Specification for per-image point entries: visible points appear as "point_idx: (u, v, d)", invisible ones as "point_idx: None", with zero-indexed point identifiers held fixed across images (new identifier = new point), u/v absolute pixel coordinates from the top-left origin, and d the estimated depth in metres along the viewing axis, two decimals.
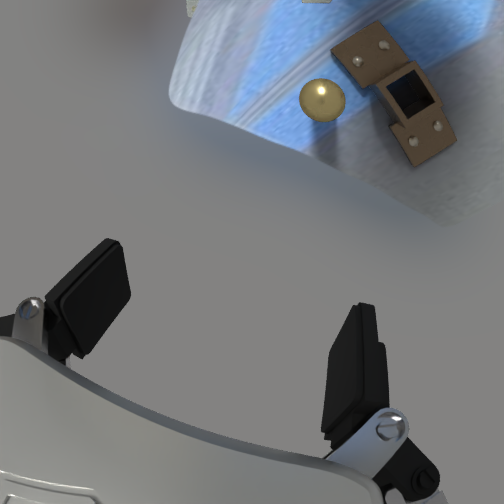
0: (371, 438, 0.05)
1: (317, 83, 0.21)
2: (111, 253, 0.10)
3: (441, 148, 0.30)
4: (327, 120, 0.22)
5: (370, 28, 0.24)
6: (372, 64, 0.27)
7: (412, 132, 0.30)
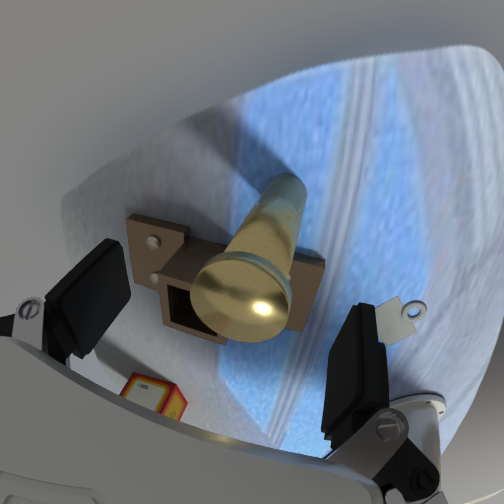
0: (371, 438, 0.05)
1: (270, 328, 0.11)
2: (111, 253, 0.10)
3: (132, 261, 0.28)
4: (196, 281, 0.11)
5: (301, 319, 0.26)
6: None
7: (163, 249, 0.26)
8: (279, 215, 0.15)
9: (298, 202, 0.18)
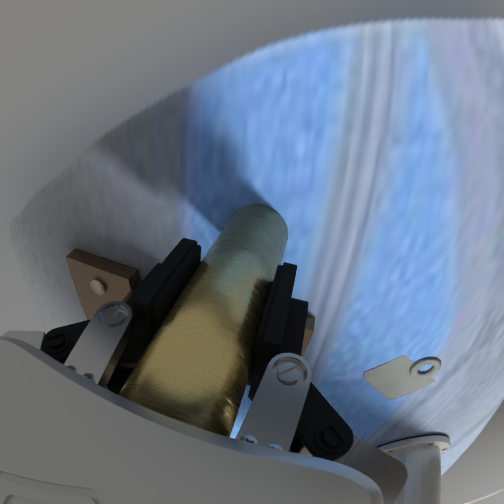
0: (276, 388, 0.06)
1: None
2: (193, 253, 0.10)
3: (82, 303, 0.22)
4: None
5: None
6: None
7: (110, 295, 0.19)
8: (223, 309, 0.08)
9: (268, 262, 0.11)
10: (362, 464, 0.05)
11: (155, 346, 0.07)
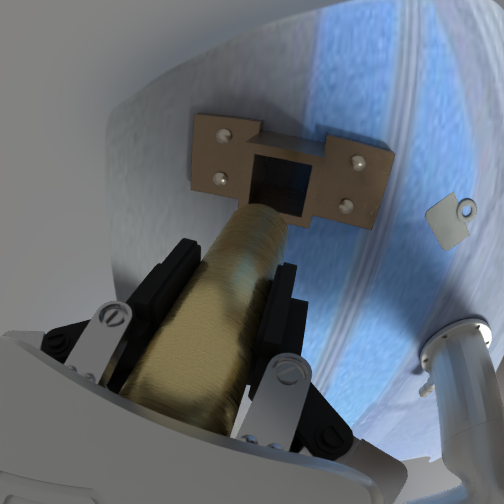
0: (276, 388, 0.06)
1: None
2: (193, 253, 0.10)
3: (193, 163, 0.27)
4: None
5: (372, 214, 0.25)
6: (341, 172, 0.24)
7: (234, 142, 0.25)
8: (223, 309, 0.08)
9: (268, 261, 0.11)
10: (363, 465, 0.05)
11: (155, 345, 0.07)
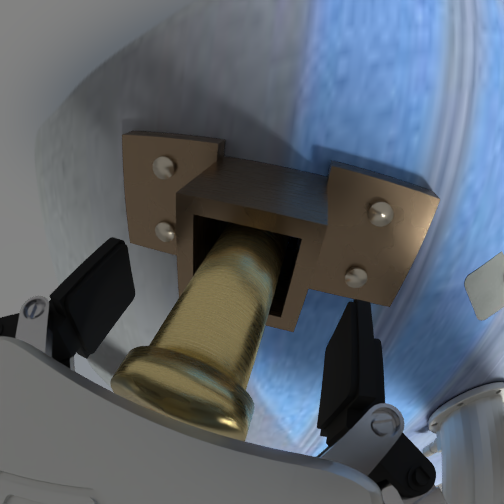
0: (366, 434, 0.05)
1: None
2: (116, 252, 0.10)
3: (128, 207, 0.18)
4: (114, 383, 0.06)
5: (394, 286, 0.16)
6: (351, 227, 0.15)
7: (180, 177, 0.16)
8: (247, 261, 0.10)
9: None
10: None
11: (192, 288, 0.09)
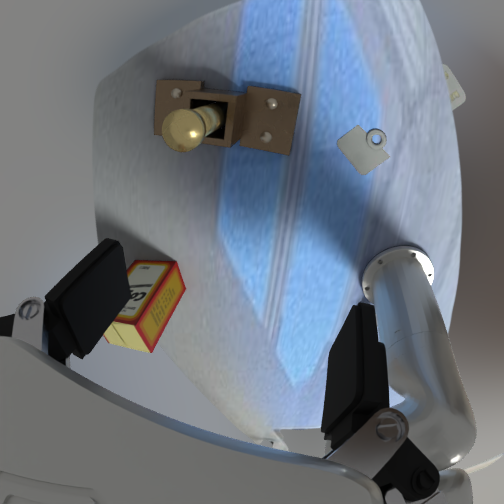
0: (371, 438, 0.05)
1: (195, 139, 0.23)
2: (111, 253, 0.10)
3: (156, 115, 0.34)
4: (164, 121, 0.23)
5: (288, 142, 0.33)
6: (259, 112, 0.32)
7: (183, 97, 0.32)
8: (208, 107, 0.27)
9: (224, 108, 0.30)
10: None
11: None
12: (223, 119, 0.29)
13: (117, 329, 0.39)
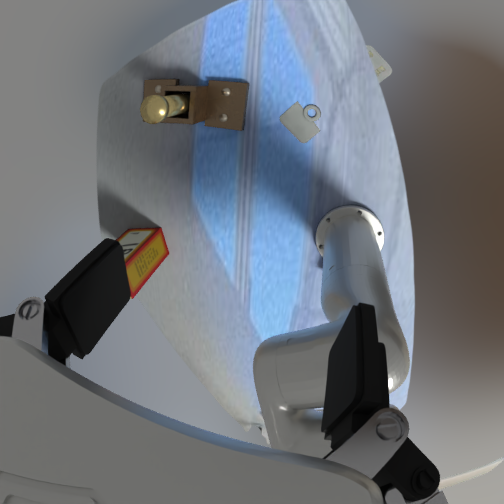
0: (371, 438, 0.05)
1: (161, 114, 0.32)
2: (111, 253, 0.10)
3: None
4: (142, 103, 0.32)
5: (240, 120, 0.42)
6: (218, 99, 0.40)
7: None
8: (176, 95, 0.36)
9: None
10: None
11: None
12: (188, 104, 0.38)
13: None
